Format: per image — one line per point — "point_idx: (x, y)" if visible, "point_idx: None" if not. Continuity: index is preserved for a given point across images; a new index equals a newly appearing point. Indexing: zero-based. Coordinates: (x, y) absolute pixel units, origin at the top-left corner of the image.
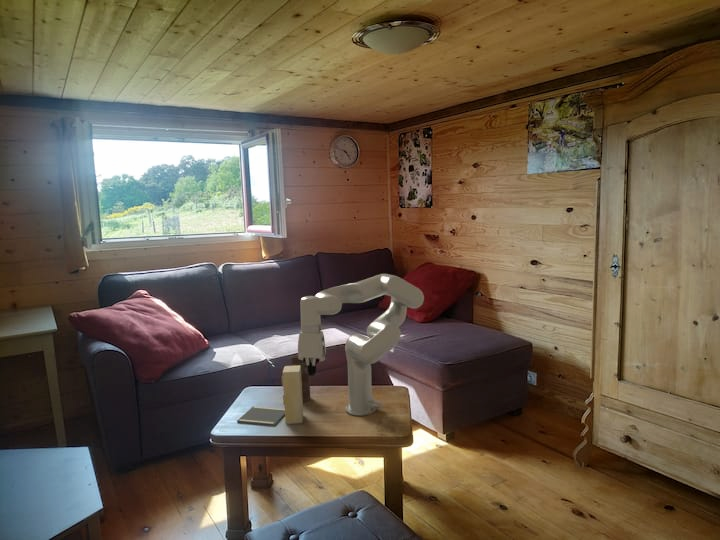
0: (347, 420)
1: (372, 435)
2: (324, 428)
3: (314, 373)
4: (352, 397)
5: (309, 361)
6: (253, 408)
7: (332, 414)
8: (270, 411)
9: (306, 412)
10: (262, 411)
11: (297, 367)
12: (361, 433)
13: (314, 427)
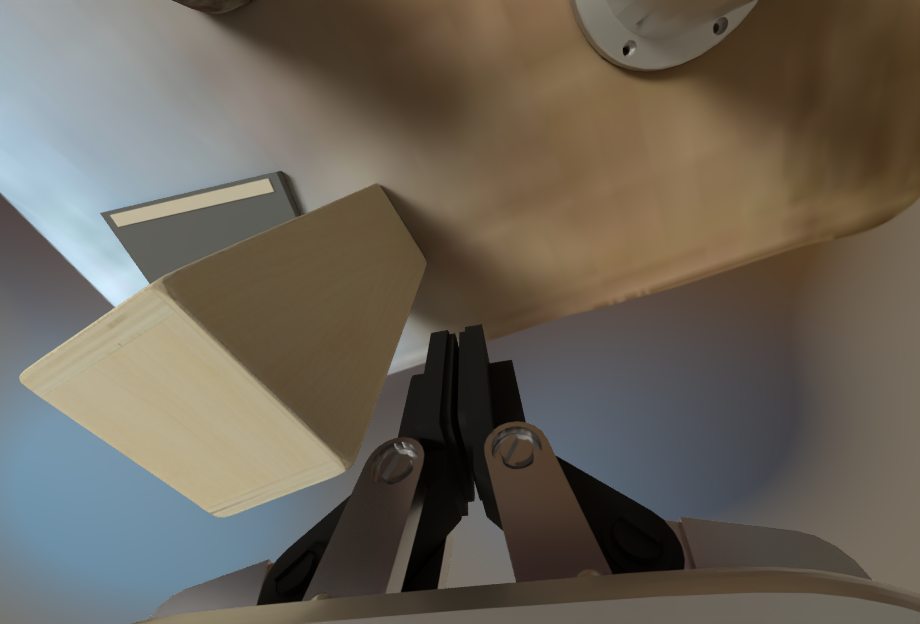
0: (620, 148)
1: (764, 248)
2: (540, 266)
3: (487, 353)
4: (695, 3)
5: (418, 533)
6: (127, 232)
7: (516, 108)
8: (223, 229)
9: (372, 144)
10: (193, 244)
11: (208, 374)
12: (712, 249)
13: (496, 274)
